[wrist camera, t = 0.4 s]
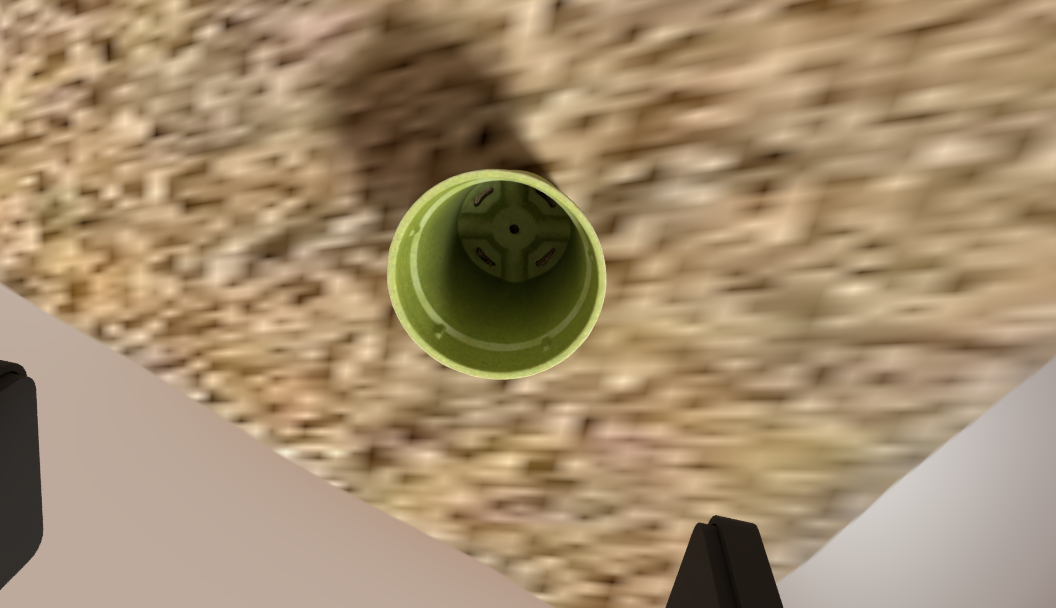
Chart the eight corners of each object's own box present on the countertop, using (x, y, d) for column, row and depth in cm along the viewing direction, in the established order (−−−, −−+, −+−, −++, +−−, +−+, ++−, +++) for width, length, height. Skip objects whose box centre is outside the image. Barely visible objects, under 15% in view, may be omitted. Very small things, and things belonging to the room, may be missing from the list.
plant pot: (390, 228, 41) (342, 284, 33) (507, 95, 38) (485, 121, 30) (519, 339, 43) (503, 418, 35) (640, 221, 40) (653, 278, 32)
